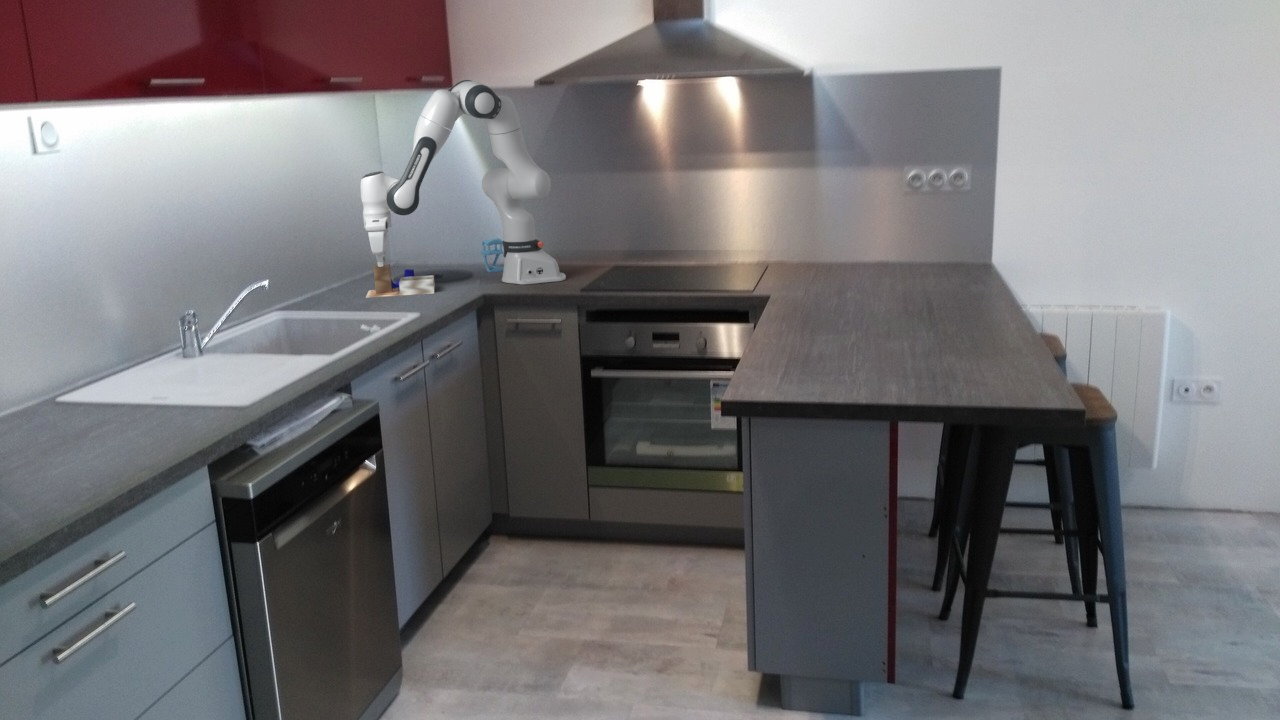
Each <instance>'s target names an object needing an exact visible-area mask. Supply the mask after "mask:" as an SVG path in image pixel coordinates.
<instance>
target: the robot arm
mask: <svg viewBox="0 0 1280 720" xmlns="http://www.w3.org/2000/svg"><path fill="white" fill-rule="evenodd" d="M462 115H467V116H469V117H474V118H476V119H482V120H483V119H484V120H485V123H486V127H487V132H488V137H489V142H490V146H491V151H492V154H493V156H494V157H496V159H498V160H500V161H501V162H502V163H504V165H505V166H506V167H499V168H494V169H490V170H487V171H485V173H484V174H483V176H482V179H481V188H482V190H483V193H484V194H485V196H486V197H488V198H489V199H490V200H491V201H492V202H493V204H494V205H495V207H496V208H497V211H498V213H499V216H500V219H501V225H502V226H501V227H502V235H503V240H502V242H503V243H502V251H503V254H502V255H503V258H504V259H503V260H504V261H503V267H504V270H503V271H502V277H501V282H503V283H507V284H516V285H517V284H518V285H530V284H531V285H532V284H540V283H541V284H542V283H551V282H553V283H554V282H562V281H565V280H566V279H567V276H566V274H565V273H564V272H560V267H559V264H558V262H557V259H555V258H554V257H552V255H550V254H548V253H547V252H545V251H544V250H543V249H542V248H543V247H544V242H543V241H542V240H539V239H536V229H535V228H536V227H535V219H534V218H535V217H534V216H533V214H532V213H531V212H529V211H527V209H525V208H524V206H523V204H522V202H521V201H537V200H541V199H545V198H546V197H547V196H548V195H549V193H550V190H551V185H552V183H551V182H552V181H551V178H550V175H549V174H548V173H547V171H545V170H544V169H542V168H541V167H540V166H538V164H536V162H535V161H534V160H533V158H532V157H531V155H530V153H529V151H528V149H527V146H526V143H525V139H524V135H523V131H522V125H521V123H520V122H521V121H520V118H519V115H518V112H517V108H516V106H515V103H514V101H513V100H512V99H511V98H510V97H509V96H507V95H498V94H496V92H494V90H493V89H492V88H491V87H489V86H487V85H485V84H483V83H481V82H479V81H475V80H474V81H473V80H470V79H464V80H460V81H458V82H456V83H455V84H454V85H453V86H452V87H451V88H449V89H448V90H447V89H437V90H435V91H434V92H433V93H432V94H431V96H430V97H429V99H428V100H427V102H426V104H425V105H424V107H423V109H422V110H421V112H420V114H419V117H418V119H417V122H416V125H415V128H414V132H413V146H412V153H411V155H410V158H409V160H408V163H407V164H406V168H405V170H404V171H403V174H402V176H401V178H400V179H399V178H395V177H393V176H391V175H389V174H387V173H385V172H384V171H373V172H370V173H367V174H365V175H363V177H362V178H361V179H360V186H359V187H360V191H359V192H360V201H361V203H362V207H363V208H362V210H363V211H362V219H363V220H362V221H363V229H365V232H367V235H368V236H367V237H368V240H369V246H370V251H371V253H372V255H373V256H375V258H376V262H377V264H376V265H378V267H382V266H383V265H385V264H384V263H385V262H386V249H387V248H388V246H389V244H388V243H389V241H388V233H389V228H391V227H392V225H393V224H392V214H391V211H392V212H393V213H394V214H395V215H398V216H409V215H411V214H413V213H414V212H415V211H416V210H417V209H418V207H419V203H420V188H421V186H422V183H423V180H424V179H425V177H426V174H427V171H428V169H429V167H430V165H431V163H432V161H433V159H434V158H435V157H436V155H437V154H438V153H439V152H440V150H441V149H442V148H443V147H444V145H445V144H446V142H447V140H448V139H449V137H450V135H451V133H452V131H453V129H454V126H455V123H456V122H457V121H458V119H459V118H460V117H461V116H462Z"/></svg>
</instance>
